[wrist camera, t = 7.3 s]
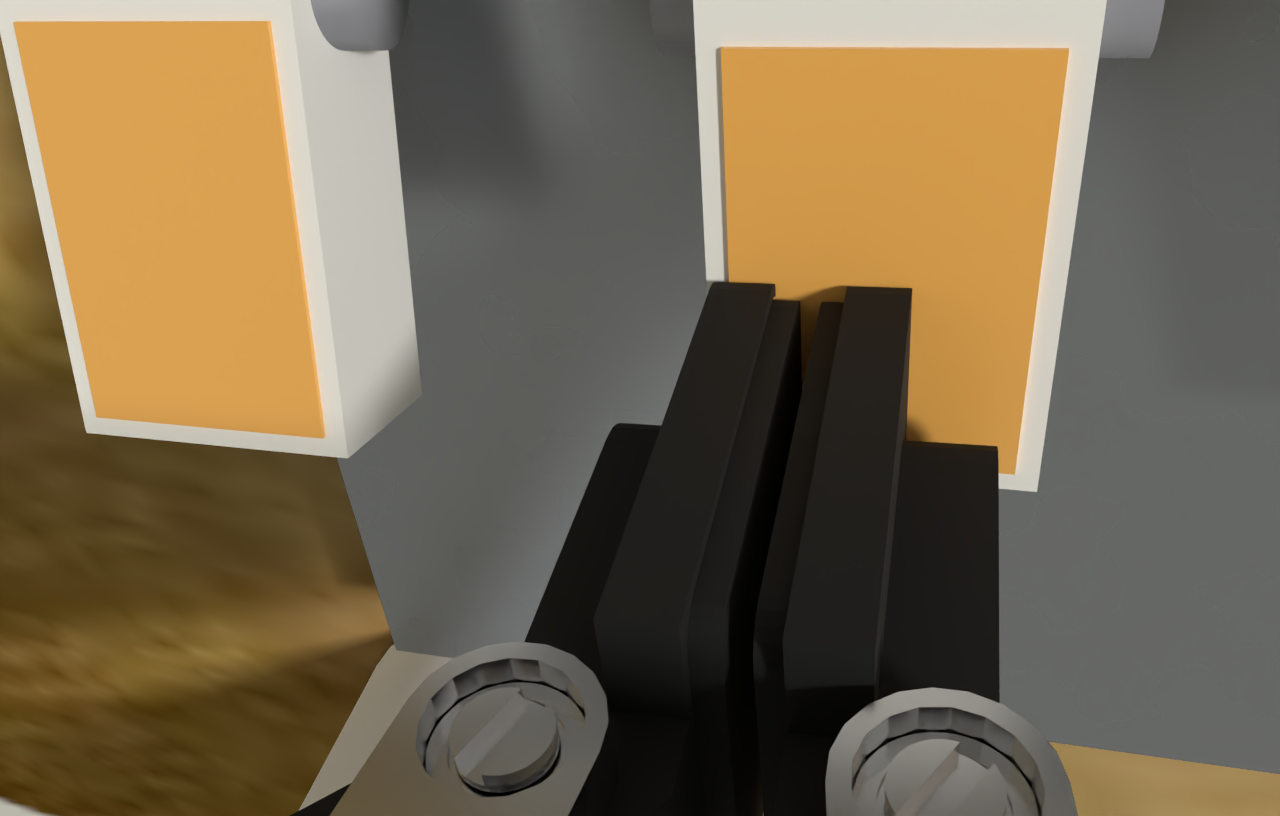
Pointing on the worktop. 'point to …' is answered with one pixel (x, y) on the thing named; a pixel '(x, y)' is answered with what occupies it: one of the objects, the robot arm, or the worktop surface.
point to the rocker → (222, 214)
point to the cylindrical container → (372, 717)
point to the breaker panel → (675, 295)
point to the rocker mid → (910, 178)
